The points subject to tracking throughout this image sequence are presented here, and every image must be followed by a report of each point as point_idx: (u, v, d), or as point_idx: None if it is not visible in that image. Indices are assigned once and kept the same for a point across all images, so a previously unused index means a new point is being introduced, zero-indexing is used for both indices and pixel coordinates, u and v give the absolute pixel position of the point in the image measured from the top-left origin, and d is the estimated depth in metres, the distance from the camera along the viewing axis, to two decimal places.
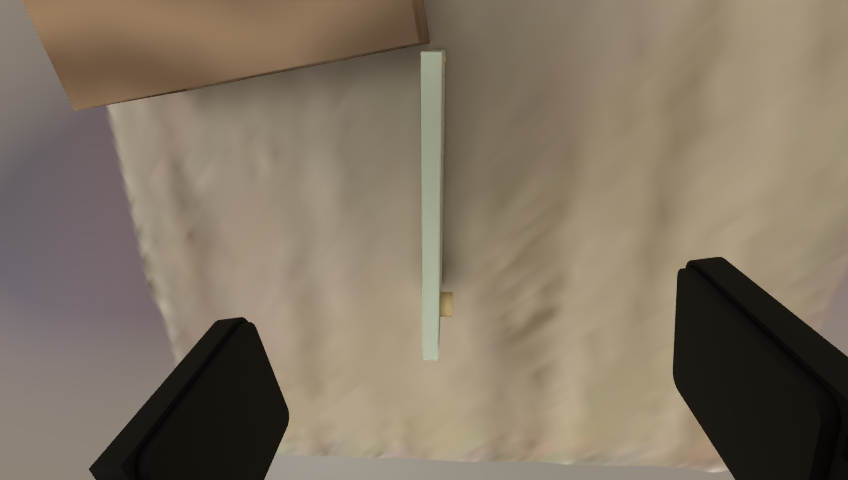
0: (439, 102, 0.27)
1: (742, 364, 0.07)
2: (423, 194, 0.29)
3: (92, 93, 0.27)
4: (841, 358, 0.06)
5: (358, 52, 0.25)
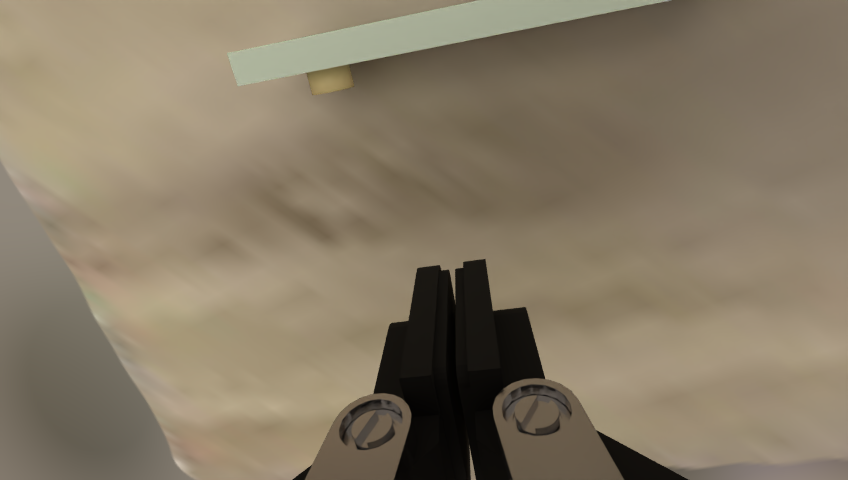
0: None
1: None
2: None
3: None
4: (492, 337, 0.07)
5: None
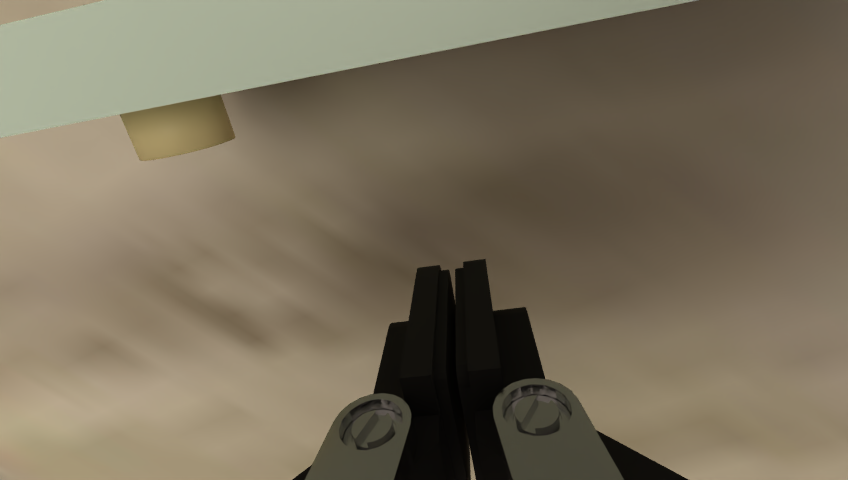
0: None
1: None
2: None
3: None
4: (492, 337, 0.07)
5: None
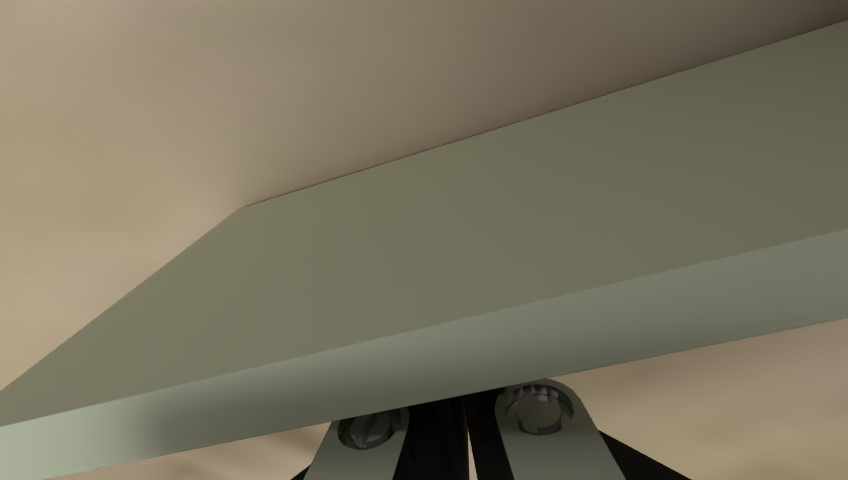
0: None
1: None
2: None
3: None
4: None
5: None
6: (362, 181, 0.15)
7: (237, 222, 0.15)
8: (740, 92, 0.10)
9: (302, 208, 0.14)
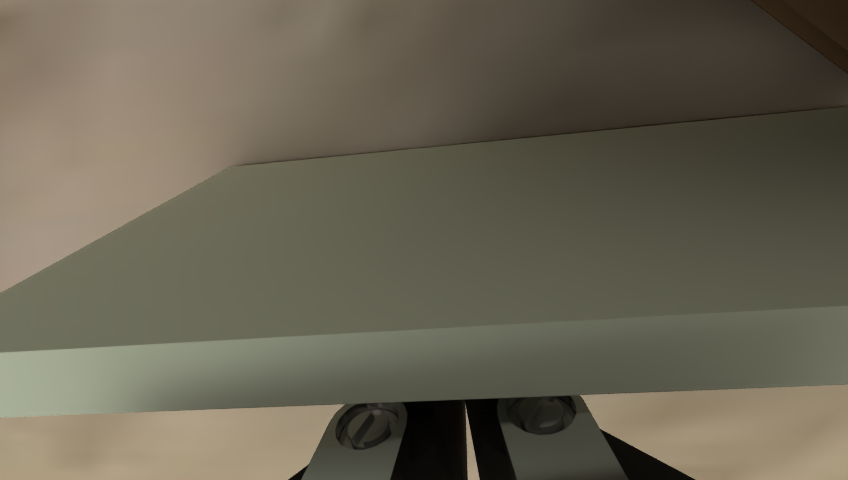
0: None
1: None
2: None
3: None
4: None
5: None
6: (368, 164, 0.15)
7: (230, 180, 0.15)
8: (751, 154, 0.11)
9: (304, 180, 0.14)
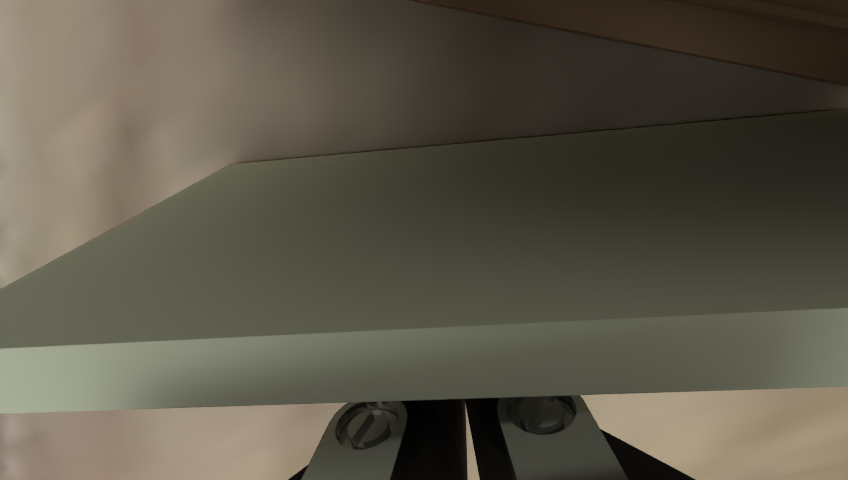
0: None
1: None
2: None
3: None
4: None
5: None
6: (369, 163, 0.15)
7: (231, 178, 0.15)
8: (753, 155, 0.11)
9: (305, 177, 0.14)
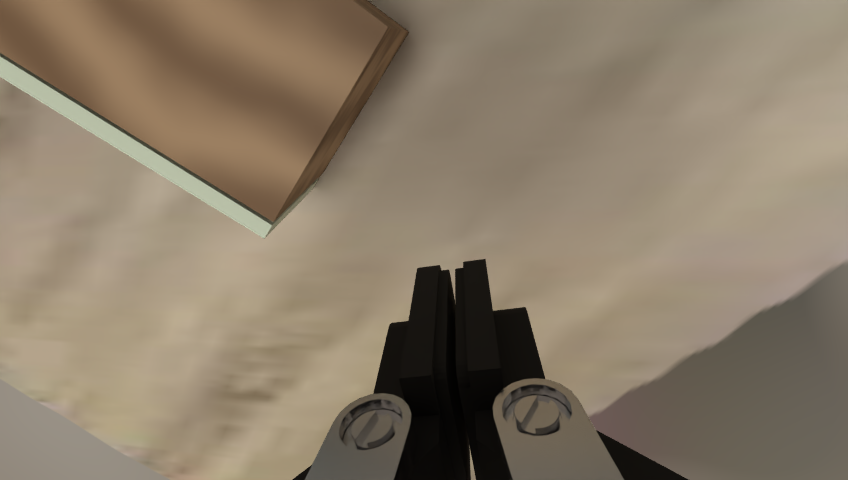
0: (227, 214, 0.30)
1: None
2: (151, 152, 0.28)
3: None
4: (492, 337, 0.07)
5: (225, 191, 0.28)
6: None
7: None
8: None
9: None
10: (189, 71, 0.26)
